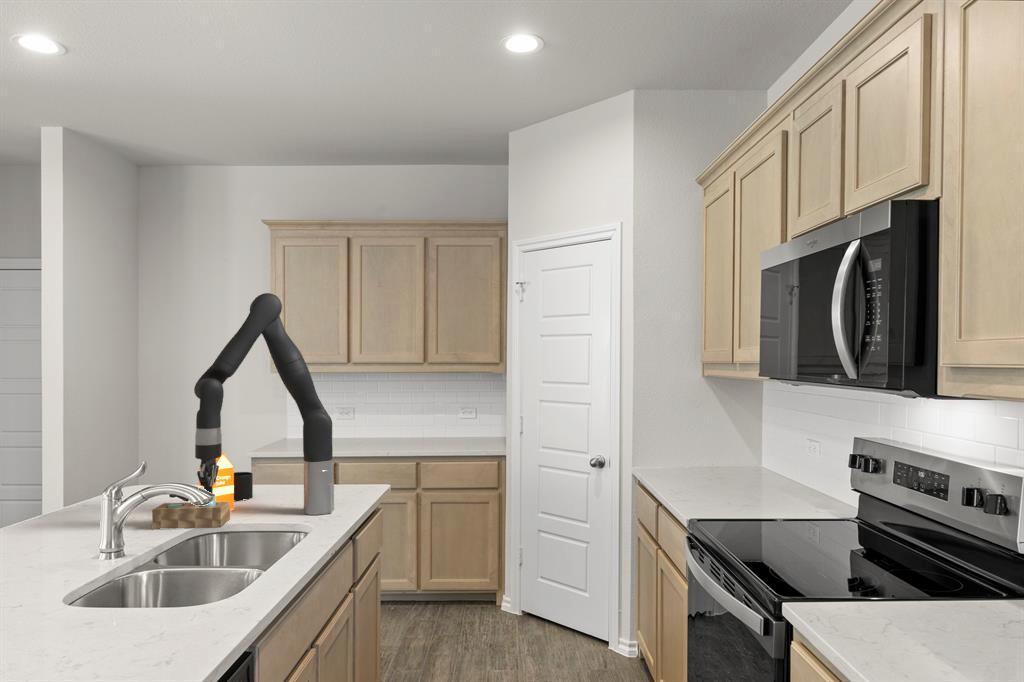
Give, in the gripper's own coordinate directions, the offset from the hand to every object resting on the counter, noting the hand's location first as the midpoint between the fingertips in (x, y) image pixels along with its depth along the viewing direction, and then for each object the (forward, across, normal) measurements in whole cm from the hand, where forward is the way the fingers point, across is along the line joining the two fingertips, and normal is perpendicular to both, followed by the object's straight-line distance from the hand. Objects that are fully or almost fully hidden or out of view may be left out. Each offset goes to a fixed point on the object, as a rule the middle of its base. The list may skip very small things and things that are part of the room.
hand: (208, 498), depth 218 cm
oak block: (+8, 0, +5) cm, 9 cm away
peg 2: (+6, 0, 0) cm, 6 cm away
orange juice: (+8, +19, +4) cm, 21 cm away
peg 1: (+8, 0, +10) cm, 13 cm away
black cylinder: (+8, +40, +2) cm, 41 cm away
